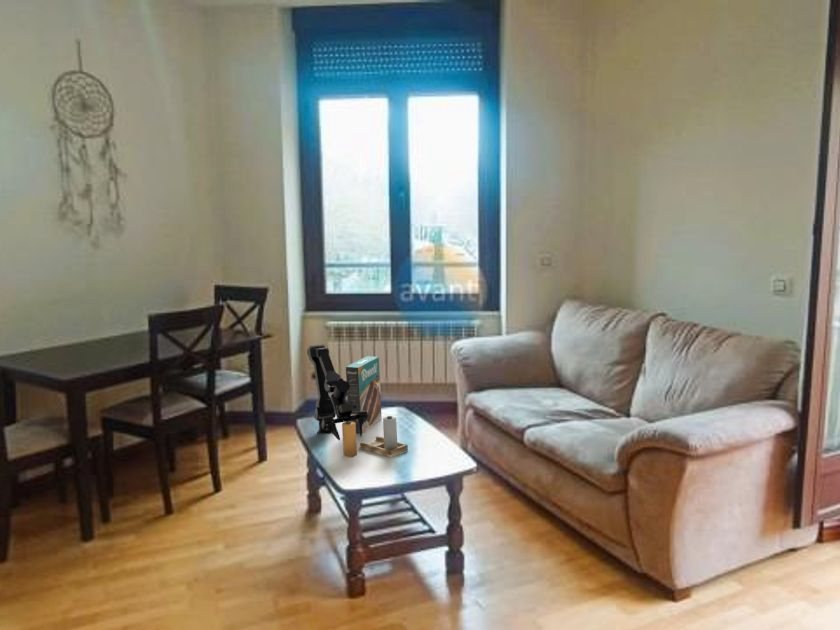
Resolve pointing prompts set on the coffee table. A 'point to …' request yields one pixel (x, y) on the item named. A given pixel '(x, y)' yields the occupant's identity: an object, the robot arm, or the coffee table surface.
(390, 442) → the grey bottle
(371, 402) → the cake mix box
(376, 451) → the slot rack
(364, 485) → the coffee table surface
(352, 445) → the orange bottle
